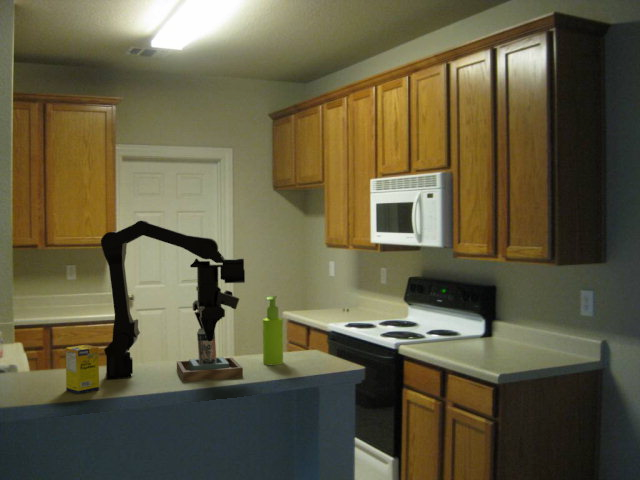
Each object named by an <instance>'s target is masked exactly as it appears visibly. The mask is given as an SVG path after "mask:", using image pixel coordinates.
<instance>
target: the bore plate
mask: <svg viewBox="0 0 640 480" xmlns="http://www.w3.org/2000/svg"><path fill="white" fill-rule="evenodd" d="M225 358H226V357H224V356H216V361H217V363H212V364H199V358H189V370H190V371H196V370H210V369H223V368H229V363H228V362H227V361H226V360H225Z"/></svg>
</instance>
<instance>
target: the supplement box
mask: <svg viewBox="0 0 640 480" xmlns="http://www.w3.org/2000/svg"><path fill="white" fill-rule="evenodd" d="M99 359H100V358H99V347H98V346H93V345H90V344H82V345H75V346H68V347H65V375H66V376H65V380H66V383H65V386H66V387H65V389H66V391H68V392H71V393H75V394H76V395H79V394H80V395H81V394H84V393H90V392H95V391H99V390H100V372H99V371H100V370H99V369H100V368H99V366H100V364H99Z"/></svg>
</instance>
